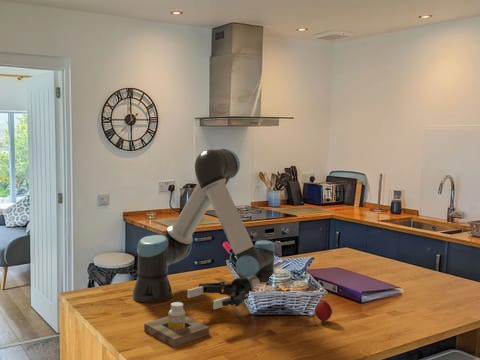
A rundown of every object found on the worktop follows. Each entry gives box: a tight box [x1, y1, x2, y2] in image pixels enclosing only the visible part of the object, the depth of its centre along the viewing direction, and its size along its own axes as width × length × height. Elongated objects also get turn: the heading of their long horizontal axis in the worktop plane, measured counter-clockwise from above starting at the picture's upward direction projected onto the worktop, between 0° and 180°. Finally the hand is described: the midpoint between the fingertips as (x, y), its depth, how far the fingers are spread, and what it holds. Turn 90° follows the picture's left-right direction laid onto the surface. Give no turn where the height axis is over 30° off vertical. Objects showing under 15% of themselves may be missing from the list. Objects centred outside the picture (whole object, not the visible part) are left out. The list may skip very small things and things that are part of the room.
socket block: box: [143, 315, 210, 348], centre depth 156 cm, size 16×14×2 cm
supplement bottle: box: [168, 301, 186, 331], centre depth 156 cm, size 5×5×10 cm
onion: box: [314, 299, 333, 323], centre depth 168 cm, size 6×6×8 cm
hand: (200, 299), depth 162 cm, fingers open, 13 cm apart
